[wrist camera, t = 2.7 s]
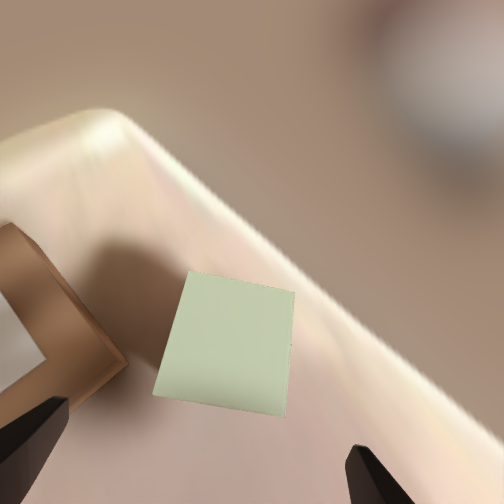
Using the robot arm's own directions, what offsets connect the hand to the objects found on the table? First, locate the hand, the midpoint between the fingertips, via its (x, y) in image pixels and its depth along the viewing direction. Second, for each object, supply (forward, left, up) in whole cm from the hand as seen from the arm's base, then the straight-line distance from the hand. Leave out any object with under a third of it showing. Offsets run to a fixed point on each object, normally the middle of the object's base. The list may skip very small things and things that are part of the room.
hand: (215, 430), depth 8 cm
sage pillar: (+2, -2, -10) cm, 11 cm away
